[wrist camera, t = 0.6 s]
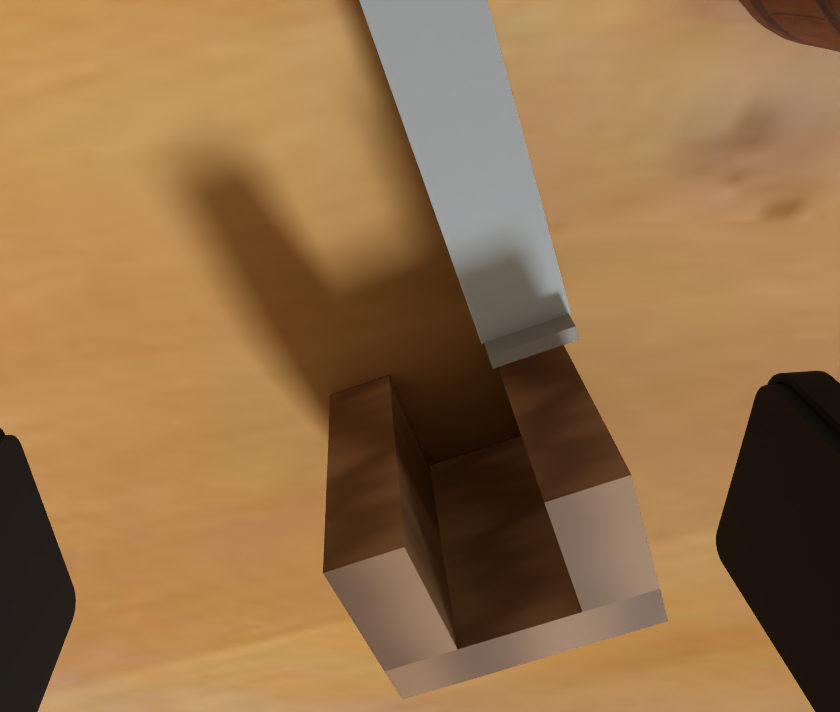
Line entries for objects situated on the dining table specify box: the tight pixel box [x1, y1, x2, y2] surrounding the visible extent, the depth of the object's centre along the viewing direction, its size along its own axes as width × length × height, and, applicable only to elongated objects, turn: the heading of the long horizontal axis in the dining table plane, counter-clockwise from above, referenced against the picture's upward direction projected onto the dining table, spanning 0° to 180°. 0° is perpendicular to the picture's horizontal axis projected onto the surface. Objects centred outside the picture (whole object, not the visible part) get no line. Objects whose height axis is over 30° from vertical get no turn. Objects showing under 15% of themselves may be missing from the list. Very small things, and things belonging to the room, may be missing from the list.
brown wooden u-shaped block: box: [323, 345, 668, 700], centre depth 31 cm, size 11×8×11 cm
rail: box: [359, 0, 579, 369], centre depth 25 cm, size 4×15×6 cm, turn 19°
